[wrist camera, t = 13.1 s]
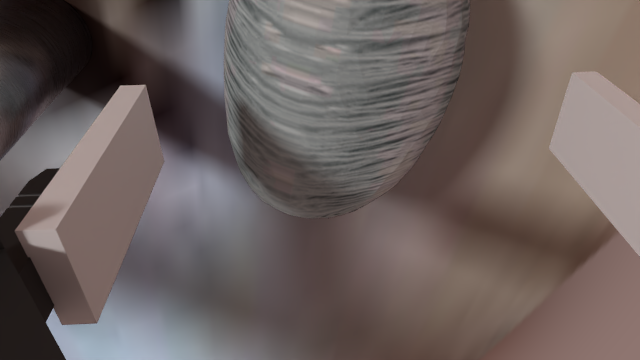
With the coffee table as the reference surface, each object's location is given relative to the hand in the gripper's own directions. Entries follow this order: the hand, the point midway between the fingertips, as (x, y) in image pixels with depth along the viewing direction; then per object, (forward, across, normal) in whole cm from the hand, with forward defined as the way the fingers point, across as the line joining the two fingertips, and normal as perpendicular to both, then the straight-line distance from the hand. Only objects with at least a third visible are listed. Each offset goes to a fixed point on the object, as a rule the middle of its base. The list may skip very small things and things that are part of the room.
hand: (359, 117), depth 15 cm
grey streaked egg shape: (+9, 0, 0) cm, 9 cm away
